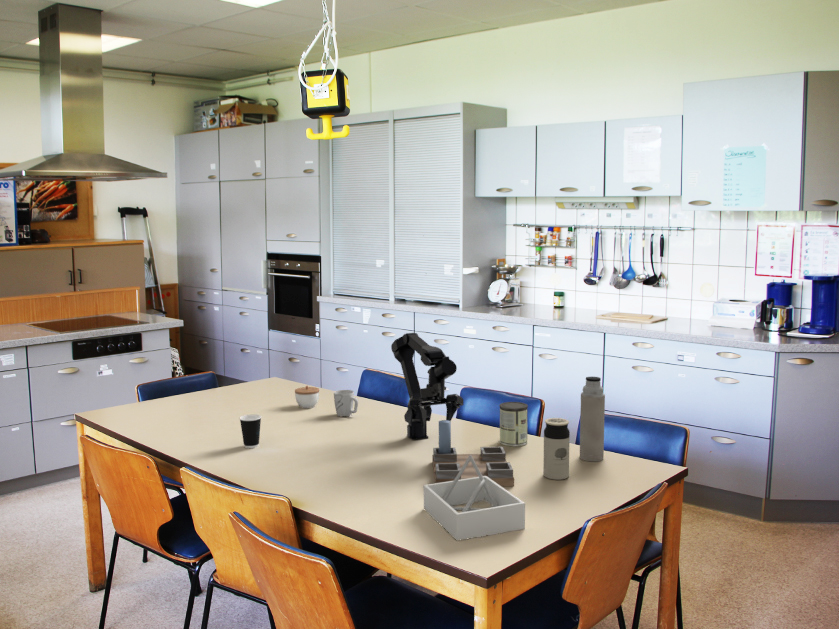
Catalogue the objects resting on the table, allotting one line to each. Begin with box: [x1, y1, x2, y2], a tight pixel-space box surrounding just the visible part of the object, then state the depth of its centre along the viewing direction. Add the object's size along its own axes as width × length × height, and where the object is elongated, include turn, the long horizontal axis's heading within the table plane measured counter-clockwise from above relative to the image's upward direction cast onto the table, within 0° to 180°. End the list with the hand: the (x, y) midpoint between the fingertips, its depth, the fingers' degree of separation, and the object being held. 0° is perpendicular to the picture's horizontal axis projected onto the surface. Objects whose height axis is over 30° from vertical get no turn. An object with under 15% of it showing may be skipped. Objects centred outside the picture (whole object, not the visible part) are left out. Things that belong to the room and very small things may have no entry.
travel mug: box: [542, 417, 571, 481], centre depth 228 cm, size 8×8×18 cm
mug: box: [333, 389, 359, 417], centre depth 304 cm, size 11×8×10 cm
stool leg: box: [438, 419, 452, 454], centre depth 239 cm, size 4×4×12 cm
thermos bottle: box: [579, 376, 606, 462], centre depth 245 cm, size 8×8×28 cm
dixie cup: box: [238, 414, 262, 449], centre depth 262 cm, size 8×8×11 cm
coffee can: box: [499, 401, 529, 447], centre depth 264 cm, size 10×10×14 cm
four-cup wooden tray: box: [431, 446, 515, 487], centre depth 232 cm, size 24×24×5 cm
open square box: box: [423, 476, 526, 541], centre depth 196 cm, size 20×23×7 cm
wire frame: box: [443, 455, 498, 512], centre depth 196 cm, size 18×13×16 cm
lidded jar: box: [294, 385, 320, 409], centre depth 320 cm, size 11×11×9 cm
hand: (435, 426), depth 248 cm, fingers open, 9 cm apart
